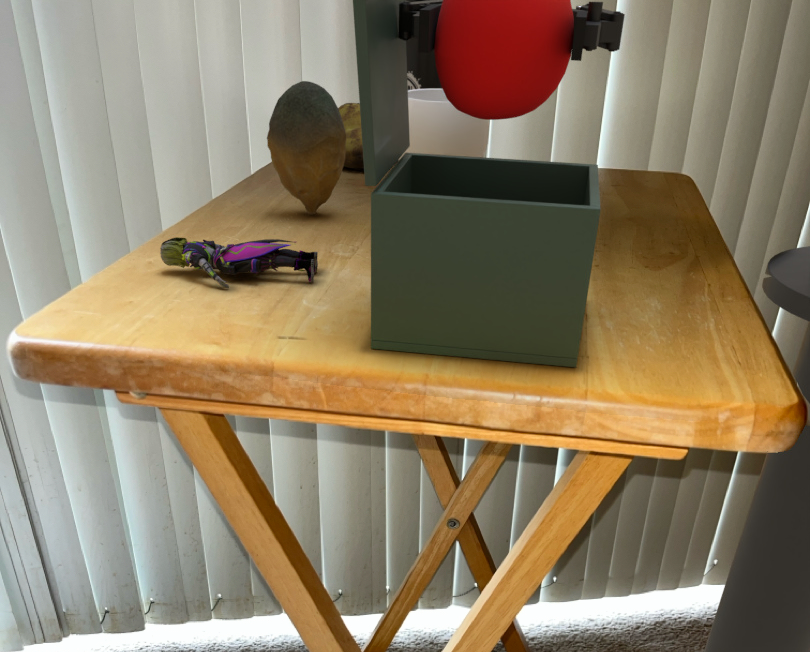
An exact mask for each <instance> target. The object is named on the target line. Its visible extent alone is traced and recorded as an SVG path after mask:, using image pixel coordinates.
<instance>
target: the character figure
mask: <svg viewBox="0 0 810 652" xmlns="http://www.w3.org/2000/svg"><path fill="white" fill-rule="evenodd" d="M288 243H293V244H294V243H297V241H291V240H286V239H285V240H284V239H278V238H277V239H274V238H268V239H258V240H251V241H244V242H238V243H236V244H234V243H231V244H229V243H227V244H226V246H225V245H221V244H219V243H216V242H215V241H214V240H206V239H202V241H197V240H193V241H189V240H188V239H187V238H186V237H177V236H175V237H172V238H169V239H166V240H164V241H163V242H162V243H161V245H160V251H159V255H160V259H161V260H162V262H163V263H164V264H165V265H166V266H170V267H171V266H172V267H179V268H183V269H184V268H185V267H187V268H188V267H190V268H192V267H193V268H194V269H195V270H197V271H202V270H203V271H204V272H206V274H208V275H209V276H210V277H211V279H212V280H214V281H216V282H217V283H218V284H219V285H220V286H221V287H223V288H226V289H230V285H229V284H228V282H227V281H226V280H223V279H222V278H221V277H220V276H219V275H218V274H217V273H216V272H215V270H216V271H217V270H218V271H219V272H220V273H221V274H222V275H233V276H236V275H238V274H242V273H243V274H244V273H250V274H251V273H253V274H260V273H262V272H264V271H268V270H273V271H276V272H278V269H279V268H293V271H299V272H306V274H307V280H308V282H310V283H314V279H315V274H317V273H318V268H319V262H318V251H309V252H308V251H304V250H300V249H299V251H298V250H294V249H290V248H287V247H290V246H291V244H288Z"/></svg>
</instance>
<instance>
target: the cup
mask: <svg viewBox="0 0 810 652" xmlns="http://www.w3.org/2000/svg"><path fill="white" fill-rule="evenodd" d="M408 110H409V136H410V146H409V148H408V149H407V150H406V151H405V152H404V153H403V155H404V154H405V153H421V154H437V155H453V156H469V157H484V155H485V153H486V149H487V147H488V144H489V143H488V142H489V131H490V120H485V119H479V118H475V117H472V116H470V115H467V114H465V113H463V112H461V111H459V110H457V109H456V108H455V107H454V106H453V105H452V104H451V103H450V102H449V100H448V99H447V98H446V95H445V93H444V91H443V89H414V90H408ZM403 155H402V156H403ZM402 156H401V157H402ZM401 157H400V158H401ZM400 158H399V159H398V160H400Z"/></svg>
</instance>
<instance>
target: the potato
mask: <svg viewBox="0 0 810 652" xmlns="http://www.w3.org/2000/svg"><path fill="white" fill-rule="evenodd" d="M338 109H339V112H340V115H341V118H342V121H343V124H344V127H345V131H346V152H345V162H344V166H343V167H345V168H348V169H354V170H358V171H359V170H362V169H364V160H363V145H362V130H361V116H360V102H345V103H344V104H341V105H340V106H339V107H338Z"/></svg>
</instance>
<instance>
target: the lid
mask: <svg viewBox="0 0 810 652" xmlns="http://www.w3.org/2000/svg"><path fill="white" fill-rule="evenodd" d="M401 2H404V0H352V9H353V10H352V11H353V24H354V25H353V27H354V40H355V53H356V54H355V55H356V68H357V69H356V70H357V84H358V85H357V86H358V99H359V103H360V116H361V130H362V145H363V160H364V168H363V173H364V185H365V187H377V186H378V185H379V183H380V182H381V181H382V180H383V179H384V178H385V176H386V175H387V174H388V173H389V172H390V170H391V169H392V168H393V167H394V166H395V164H396V163H397V161H398V159H399V158H400V157H401V156H402V155H403V153H404V152H405V151H406V150H407V149H408V148H409V146H410V136H409V110H408V83H407V57H406V41H405V40H403V39H400V38H398V37H399V3H401Z"/></svg>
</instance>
